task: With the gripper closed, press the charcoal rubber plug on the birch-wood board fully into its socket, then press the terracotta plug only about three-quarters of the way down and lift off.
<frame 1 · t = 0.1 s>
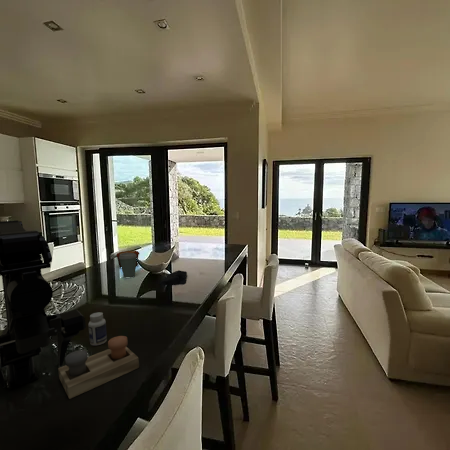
hand: (33, 375, 54), 15 cm above the kitchen island, tool pointing down, fingers open, 9 cm apart
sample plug: (77, 363, 74), point 5 cm above the kitchen island, slide at 0.0 cm
terracotta plug: (118, 347, 81), point 5 cm above the kitchen island, slide at 0.0 cm
pill bottle: (98, 342, 96), on the kitchen island
dark slate chunk: (175, 280, 167), on the kitchen island
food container: (128, 267, 203), on the kitchen island
plug board: (100, 372, 78), on the kitchen island
disposable coffee cup: (129, 277, 175), on the kitchen island
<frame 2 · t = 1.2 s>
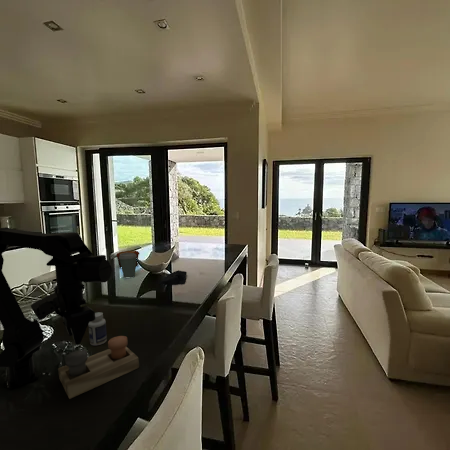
hand: (74, 339, 73), 12 cm above the kitchen island, tool pointing down, fingers open, 6 cm apart
nothing on the kitchen island moved.
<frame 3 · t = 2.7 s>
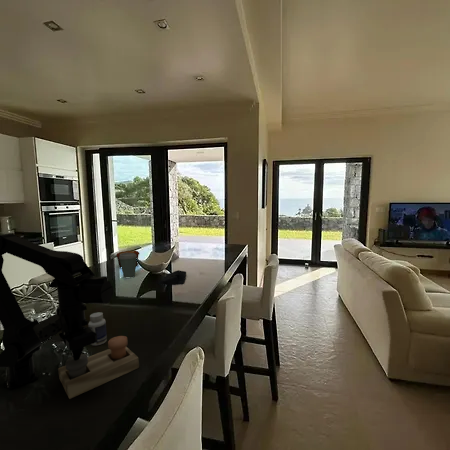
hand: (76, 359, 74), 6 cm above the kitchen island, tool pointing down, fingers closed, pressing on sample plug
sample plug: (77, 367, 74), point 4 cm above the kitchen island, slide at 1.1 cm, touching gripper
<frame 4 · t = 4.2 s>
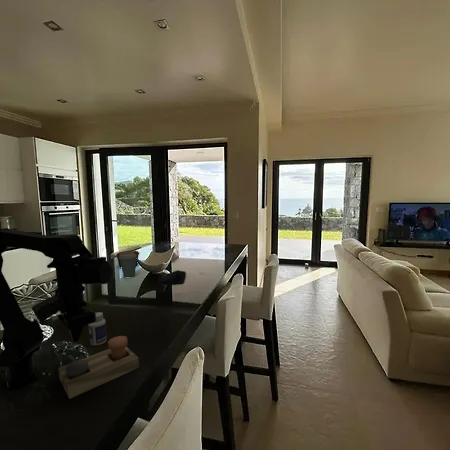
hand: (75, 341, 73), 11 cm above the kitchen island, tool pointing down, fingers closed
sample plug: (77, 373, 74), point 2 cm above the kitchen island, slide at 2.8 cm
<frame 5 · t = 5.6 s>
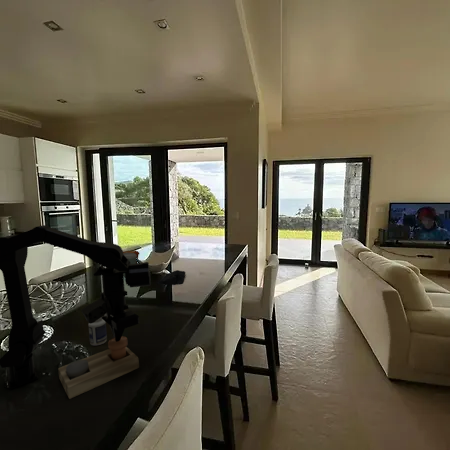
hand: (117, 340, 81), 7 cm above the kitchen island, tool pointing down, fingers closed, pressing on terracotta plug
terracotta plug: (118, 348, 81), point 5 cm above the kitchen island, slide at 0.1 cm, touching gripper
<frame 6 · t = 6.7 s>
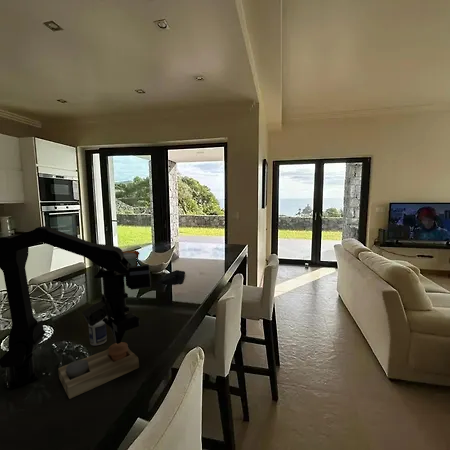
hand: (118, 342, 81), 7 cm above the kitchen island, tool pointing down, fingers closed
terracotta plug: (118, 354, 82), point 3 cm above the kitchen island, slide at 1.9 cm
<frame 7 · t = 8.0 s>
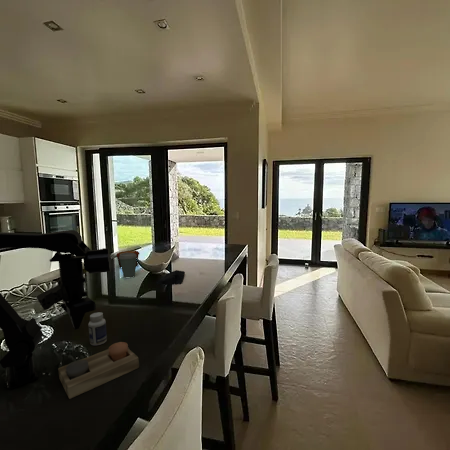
hand: (76, 328, 80), 12 cm above the kitchen island, tool pointing down, fingers closed
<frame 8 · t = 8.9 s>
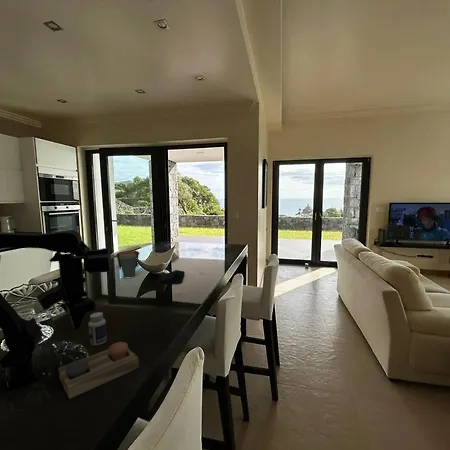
hand: (76, 328, 80), 12 cm above the kitchen island, tool pointing down, fingers closed
at the end: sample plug slide at 2.8 cm; terracotta plug slide at 1.9 cm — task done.
